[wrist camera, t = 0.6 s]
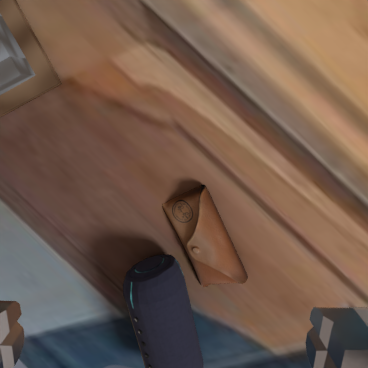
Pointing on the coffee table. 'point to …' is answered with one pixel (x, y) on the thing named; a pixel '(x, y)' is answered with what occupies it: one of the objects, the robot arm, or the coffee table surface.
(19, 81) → the well
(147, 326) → the portable speaker
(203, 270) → the sunglasses case
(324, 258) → the coffee table surface
